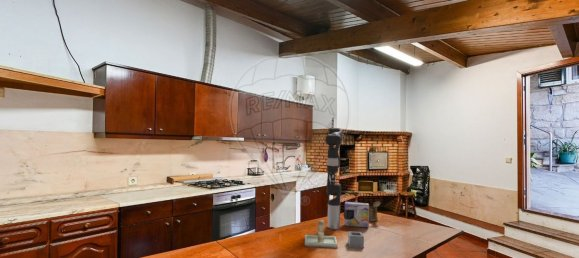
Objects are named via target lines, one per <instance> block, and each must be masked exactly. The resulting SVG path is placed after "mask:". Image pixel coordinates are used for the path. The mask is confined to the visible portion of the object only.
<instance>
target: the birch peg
mask: <svg viewBox="0 0 579 258" xmlns="http://www.w3.org/2000/svg"><path fill="white" fill-rule="evenodd" d="M317 235H318V242H324V236H325V220H323V219H318V220H317Z"/></svg>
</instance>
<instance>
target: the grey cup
mask: <svg viewBox="0 0 579 258" xmlns="http://www.w3.org/2000/svg"><path fill="white" fill-rule="evenodd" d="M347 244H348V246H349V248H355V247H356V248H357V249H358V248H359V249H361V248H362V249H364V248H365V247H364V245H365V236H364V234H363V232H361V231H351V230H350V231H348V232H347Z"/></svg>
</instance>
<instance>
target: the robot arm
mask: <svg viewBox="0 0 579 258" xmlns="http://www.w3.org/2000/svg"><path fill="white" fill-rule="evenodd" d="M343 137H344V131H343V128H340V127H330V128H328V134H327V135H326V136H325V138H324V141H325V142H324V143H325V144H326V145H328V150H327V161H326V172H327V179H326V190H325V191H326V194H327V195H328V196H335V197H334V198H330V199H329V200H328V201H327V225H326V226H327V228H328V229H331V230H339V229H340V228H341V226H340V225H341V196H342V185H341V183H339V182H338V183H337V182H336V173H339V168H340V166H341V155H340V154H339V149H340V147H341V142H342V139H343Z"/></svg>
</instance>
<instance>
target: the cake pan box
mask: <svg viewBox="0 0 579 258" xmlns="http://www.w3.org/2000/svg"><path fill="white" fill-rule="evenodd" d="M369 206H370V205H369V203H366V202H365V203H363V202H357V201H356V202H353V201H345V202H344V211H343V219H344V226H350V227H358V228H359V227H361V228H369V227H370V221H369Z"/></svg>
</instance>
